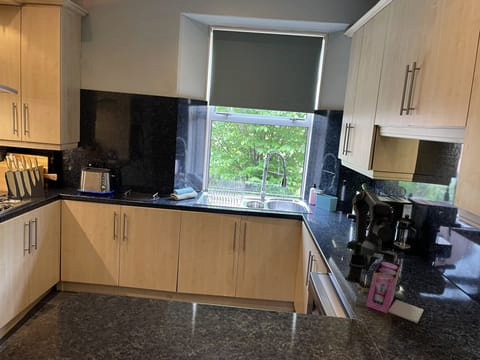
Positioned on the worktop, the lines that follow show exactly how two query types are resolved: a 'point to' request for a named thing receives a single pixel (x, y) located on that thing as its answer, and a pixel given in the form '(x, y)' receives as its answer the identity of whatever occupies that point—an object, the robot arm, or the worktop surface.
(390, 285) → the gum box
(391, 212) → the robot arm
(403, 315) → the mat
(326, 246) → the worktop surface
